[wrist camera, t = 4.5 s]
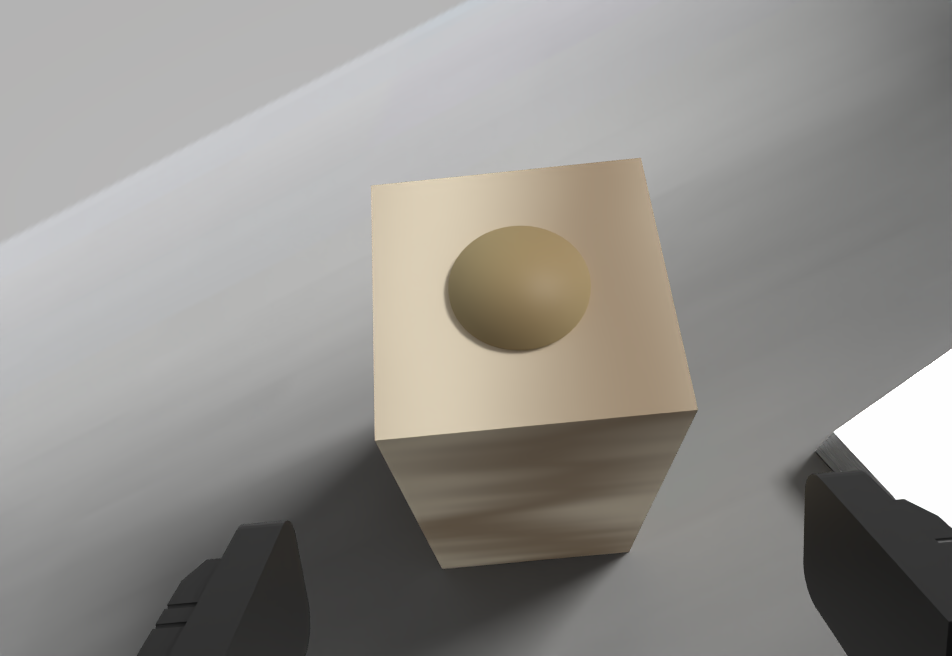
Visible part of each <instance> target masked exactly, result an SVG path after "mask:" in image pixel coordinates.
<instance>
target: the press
mask: <svg viewBox="0 0 952 656" xmlns="http://www.w3.org/2000/svg"><path fill="white" fill-rule="evenodd" d="M816 452H817V453H818V454H819V456H820V457H821V458H822V459H823V460H824V461H825V462H826V463H827V464H828V465H829V467H830V468H831V469H832V470H833V471H834V472H842V471H853V470H862V471H865V472H866V473H867V474H868V475H869V476H870V477H871V478H872V479H873V480H874V481H875V482H876V483H877V484H878V485H879V486H880V487H882V488H883V489H884V490H885V491H886V492H887V493H888V494H889V495H890V496H891V497H892V498H893V499H894V500H897V499H906V500H908V501H910V502H912V503H914V504H916V505H918V506H920V507H922V508H924V509H926V510H928V511H930V512H932V513H934V514H936V515H938V516H939V517H940V518H941V519H943V520H944V521H945V522H946V523H947V524H948V525H949V526H950V527H951V528H952V350H950V351H949V352H947V353H946V354H945V355H943V356H942V357H940V358H939V359H937V360H936V361H935V362H933V363H932V364H930V365H929V366H927V367H926V368H925V369H923V370H922V371H920V372H919V373H917V374H916V375H915V376H913V377H912V378H910V379H909V380H907V381H906V382H905V383H903V384H902V385H900V386H899V387H897V388H896V389H895V390H893V391H892V392H890V393H889V394H887V395H886V396H885V397H883V398H882V399H880V400H879V401H877V402H876V403H875V404H873V405H872V406H870V407H869V408H867V409H866V410H865V411H863V412H862V413H860V414H859V415H857V416H856V417H854V418H853V419H852V420H850V421H849V422H847V423H846V424H844V425H843V426H842V427H840V428H839V429H837V430H836V431H834V432H833V433H832V434H831V435H830V436H829V438H828V439H827V440H826V441H825V442H824V443H823V444H822V445H821V446H820V447H819V448H818V449H817V450H816Z"/></svg>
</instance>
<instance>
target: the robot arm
mask: <svg viewBox="0 0 952 656" xmlns="http://www.w3.org/2000/svg"><path fill="white" fill-rule="evenodd" d="M803 564H804V574H805V580H806V584H807V588H808V591H809V594H810V597H811V599H812V601H813V603H814V605H815V607H816V608H817V610H818V611H819V613H820V614H821V616H822V617H823V619H824V620H825V622H826V623H827V625H828V627H829V628H830V630H831V631H832V633H833V634H834V636H835V637H836V639H837V640H838V642H839V643H840V645H841V646H842V648H843V649H844V651H845V652H846V654H847V655H848V656H952V528H951V527H950V526H949V525H948V524H947V523H946V522H945V521H944V520H943V519H941V518H940V517H939V516H938V515H936V514H934V513H932V512H930V511H928V510H926V509H924V508H922V507H920V506H918V505H916V504H914V503H912V502H910V501H908V500H906V499H897V500H894V499H893V498H892V497H891V496H890V495H889V494H888V493H887V492H886V491H885V490H884V489H883V488H882V487H880V486H879V485H878V484H877V483H876V482H875V481H874V480H873V479H872V478H871V477H870V476H869V475H868V474H867V473H866V472H865V471H862V470H853V471H842V472H831V473H820V474H812V475H810V476H809V477H808V479H807V482H806V486H805V516H804V558H803ZM309 635H310V612H309V604H308V599H307V593H306V588H305V583H304V577H303V572H302V567H301V561H300V556H299V551H298V546H297V540H296V535H295V531H294V528H293V526H292V524H291V522H290V521H288V520H287V521H276V522H265V523H254V524H243V525H240V526H239V528H238V529H237V531H236V533H235V534H234V536H233V538H232V540H231V542H230V544H229V546H228V547H227V549H226V551H225V553H224V555H223V557H222V558H221V559H210V560H206V561H205V562H204V563H203V564H201V565H200V566H199V567H198V568H197V569H195V570H194V571H193V572H192V573H191V574H190V575H188V576H187V577H186V578H185V579H184V580H182V581H181V583H180V585H179V586H178V588H177V590H176V591H175V593H174V595H173V596H172V598H171V600H170V601H169V603H168V609H165V610H164V611H163V613H162V615H161V616H160V618H159V620H158V621H157V623H156V629H153V630H152V631H151V633H150V635H149V636H148V638H147V640H146V641H145V643H144V645H143V646H142V648H141V650H140V651H139V653H138V655H137V656H305V655H306V651H307V648H308V643H309Z"/></svg>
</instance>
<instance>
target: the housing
mask: <svg viewBox="0 0 952 656" xmlns="http://www.w3.org/2000/svg"><path fill="white" fill-rule="evenodd" d="M371 208H372V276H373V344H374V412H375V442H376V444H377V445H378V447H379V449H380V451H381V453H382V455H383V457H384V459H385V461H386V463H387V465H388V466H389V468H390V470H391V472H392V474H393V476H394V478H395V480H396V482H397V484H398V486H399V487H400V489H401V491H402V493H403V495H404V497H405V499H406V501H407V503H408V505H409V507H410V508H411V510H412V512H413V514H414V516H415V518H416V520H417V522H418V524H419V526H420V528H421V529H422V531H423V533H424V535H425V537H426V539H427V541H428V543H429V545H430V547H431V549H432V550H433V552H434V554H435V556H436V558H437V560H438V562H439V564H440V566H441V568H442V569H448V568H459V567H470V566H481V565H492V564H503V563H513V562H524V561H535V560H546V559H557V558H568V557H579V556H590V555H601V554H612V553H623V552H629V551H630V549H631V547H632V545H633V543H634V541H635V539H636V536H637V534H638V532H639V530H640V528H641V526H642V524H643V522H644V520H645V518H646V516H647V514H648V512H649V510H650V508H651V505H652V503H653V501H654V499H655V497H656V495H657V493H658V491H659V489H660V487H661V485H662V483H663V481H664V479H665V477H666V475H667V472H668V470H669V468H670V466H671V464H672V462H673V460H674V458H675V456H676V454H677V452H678V450H679V448H680V446H681V444H682V442H683V439H684V437H685V435H686V433H687V431H688V429H689V427H690V425H691V423H692V421H693V419H694V417H695V415H696V413H697V411H698V408H697V404H696V399H695V395H694V391H693V386H692V382H691V377H690V373H689V368H688V364H687V360H686V355H685V351H684V346H683V342H682V338H681V333H680V329H679V324H678V320H677V315H676V311H675V307H674V302H673V298H672V293H671V289H670V285H669V280H668V276H667V271H666V267H665V263H664V258H663V254H662V249H661V245H660V240H659V236H658V232H657V227H656V223H655V218H654V214H653V210H652V205H651V201H650V196H649V192H648V187H647V183H646V179H645V174H644V170H643V165H642V161H641V158H635V159H625V160H616V161H606V162H596V163H586V164H577V165H567V166H557V167H547V168H538V169H528V170H518V171H508V172H499V173H489V174H479V175H470V176H460V177H450V178H440V179H431V180H421V181H411V182H401V183H392V184H382V185H372V186H371Z"/></svg>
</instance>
